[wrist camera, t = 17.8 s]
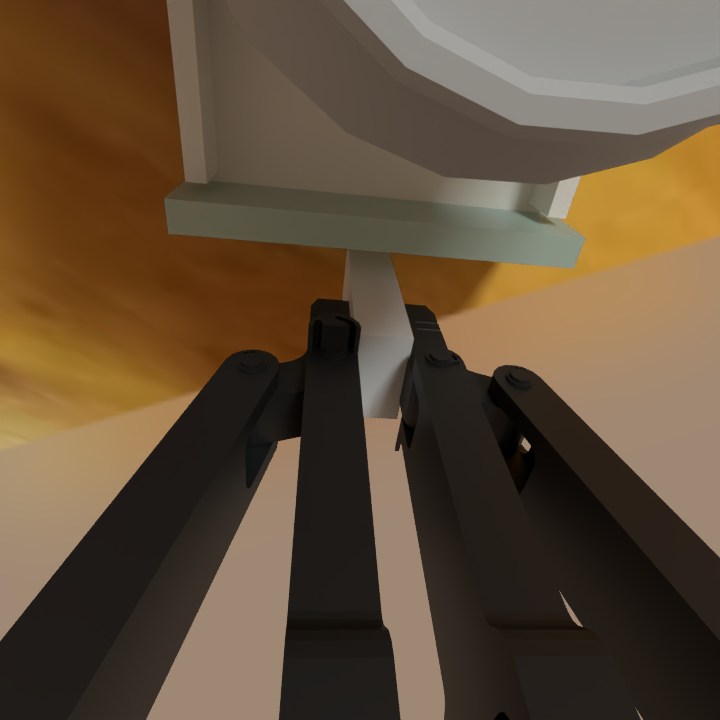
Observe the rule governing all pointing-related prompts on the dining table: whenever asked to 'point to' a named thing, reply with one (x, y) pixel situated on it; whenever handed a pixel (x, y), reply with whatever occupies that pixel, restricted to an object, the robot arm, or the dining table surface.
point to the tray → (328, 168)
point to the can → (501, 78)
